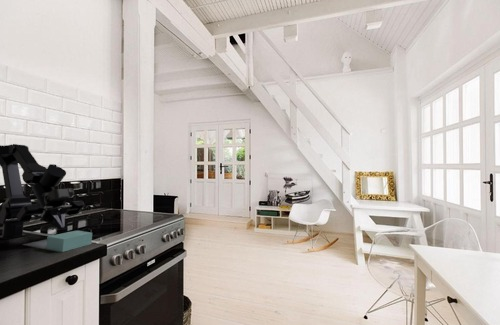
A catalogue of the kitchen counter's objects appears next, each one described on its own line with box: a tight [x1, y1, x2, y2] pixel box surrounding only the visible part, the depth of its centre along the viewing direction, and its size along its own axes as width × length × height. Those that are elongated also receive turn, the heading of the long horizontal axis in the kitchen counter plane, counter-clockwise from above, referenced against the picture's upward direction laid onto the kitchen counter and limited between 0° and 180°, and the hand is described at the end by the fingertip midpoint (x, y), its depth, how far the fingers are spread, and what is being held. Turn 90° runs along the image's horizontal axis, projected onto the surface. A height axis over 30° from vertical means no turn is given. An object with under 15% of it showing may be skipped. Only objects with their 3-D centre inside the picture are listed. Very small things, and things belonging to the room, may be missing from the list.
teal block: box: [45, 230, 93, 253], centre depth 80 cm, size 4×10×8 cm
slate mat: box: [21, 238, 61, 253], centre depth 82 cm, size 19×10×1 cm, turn 71°
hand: (62, 228), depth 81 cm, fingers closed
